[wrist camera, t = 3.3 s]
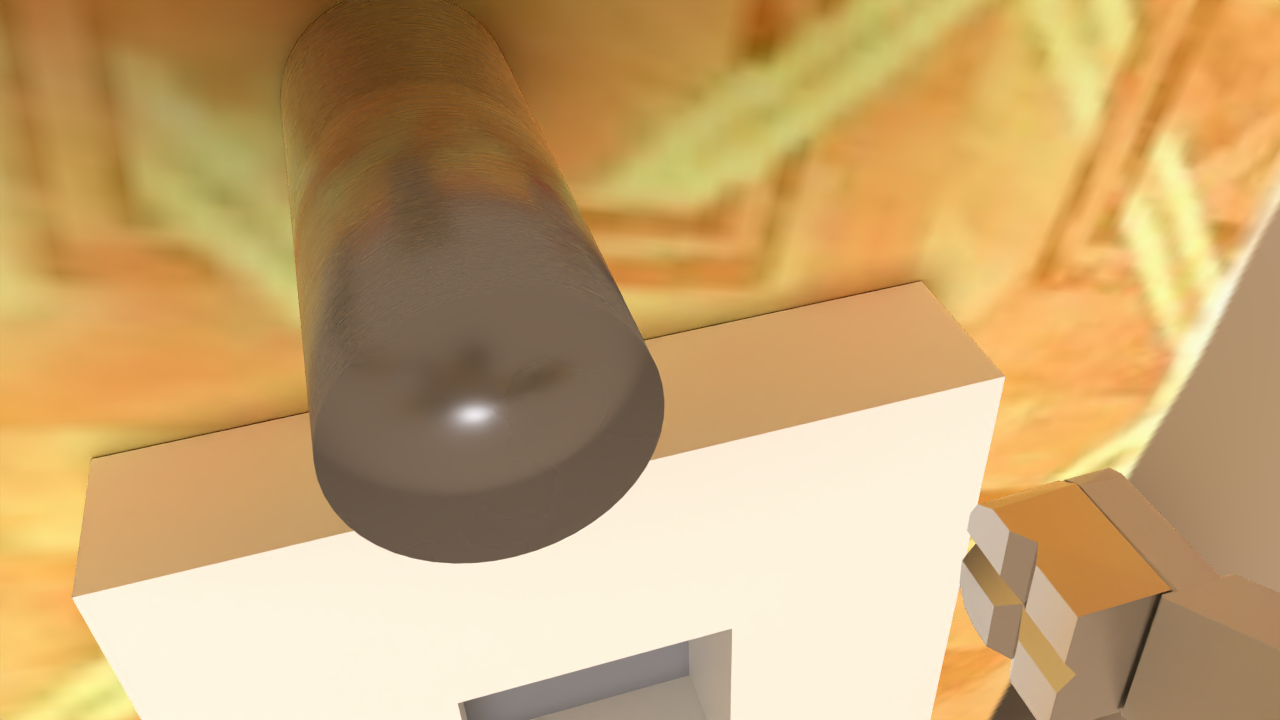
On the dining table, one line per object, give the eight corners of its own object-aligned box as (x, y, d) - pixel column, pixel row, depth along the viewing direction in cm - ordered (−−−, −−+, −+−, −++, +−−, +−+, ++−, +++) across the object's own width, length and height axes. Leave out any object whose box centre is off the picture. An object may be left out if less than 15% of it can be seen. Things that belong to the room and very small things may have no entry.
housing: (90, 459, 24) (71, 597, 21) (921, 280, 28) (1005, 376, 25) (303, 891, 37) (310, 1017, 34) (856, 727, 41) (907, 826, 38)
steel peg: (253, 9, 19) (271, 336, 12) (498, -27, 20) (659, 258, 13) (310, 222, 22) (354, 596, 15) (523, 183, 23) (668, 518, 16)
